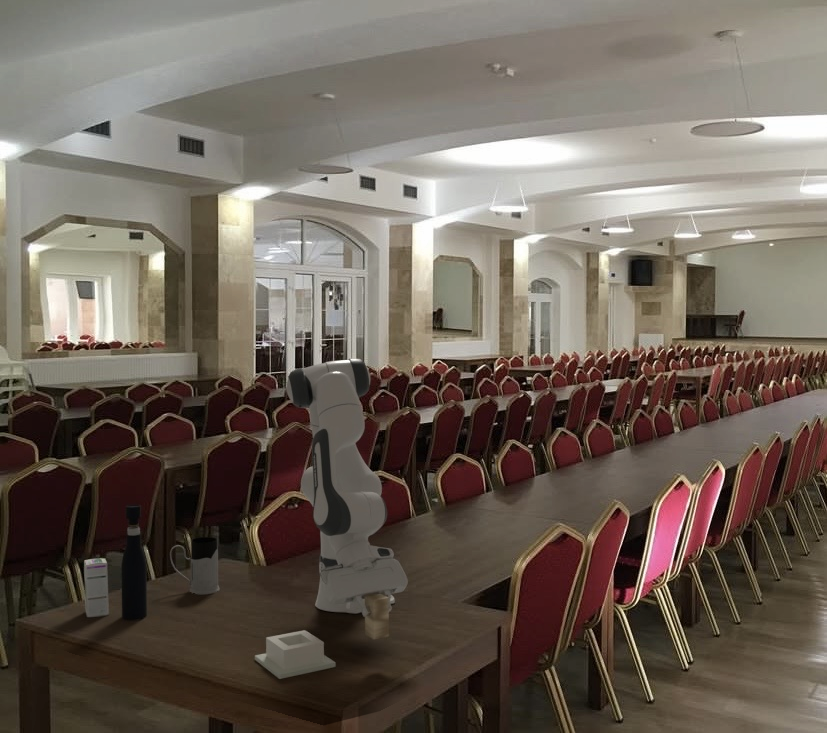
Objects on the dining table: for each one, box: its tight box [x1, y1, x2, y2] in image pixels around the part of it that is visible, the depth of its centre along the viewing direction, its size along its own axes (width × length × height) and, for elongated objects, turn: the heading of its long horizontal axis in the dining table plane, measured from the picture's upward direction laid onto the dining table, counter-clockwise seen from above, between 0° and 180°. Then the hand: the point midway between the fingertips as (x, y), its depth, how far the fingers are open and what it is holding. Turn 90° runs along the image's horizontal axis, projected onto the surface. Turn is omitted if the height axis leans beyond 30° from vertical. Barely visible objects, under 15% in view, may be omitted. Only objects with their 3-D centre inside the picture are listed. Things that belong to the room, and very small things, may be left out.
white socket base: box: [254, 629, 337, 680], centre depth 216 cm, size 14×14×6 cm
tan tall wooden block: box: [364, 593, 390, 640], centre depth 215 cm, size 4×4×9 cm
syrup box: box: [83, 557, 110, 618], centre depth 252 cm, size 6×6×14 cm
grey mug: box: [169, 536, 220, 595], centre depth 274 cm, size 9×14×15 cm, turn 102°
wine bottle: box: [121, 504, 148, 621], centre depth 249 cm, size 6×6×30 cm
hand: (378, 613), depth 214 cm, fingers closed on tan tall wooden block, 4 cm apart
